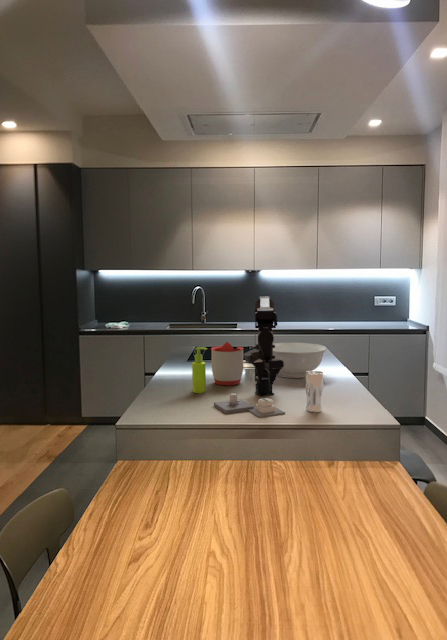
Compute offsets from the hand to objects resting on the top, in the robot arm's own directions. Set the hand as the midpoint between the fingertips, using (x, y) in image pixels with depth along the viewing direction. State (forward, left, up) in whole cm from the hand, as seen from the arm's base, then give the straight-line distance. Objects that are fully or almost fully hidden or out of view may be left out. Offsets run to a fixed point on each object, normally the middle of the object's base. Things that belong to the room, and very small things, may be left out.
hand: (265, 382), depth 194 cm
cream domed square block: (0, 0, -11) cm, 11 cm away
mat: (0, 0, -12) cm, 12 cm away
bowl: (-43, -51, -12) cm, 68 cm away
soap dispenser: (+12, -40, -12) cm, 44 cm away
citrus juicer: (-6, -50, -12) cm, 52 cm away
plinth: (+9, -10, -12) cm, 18 cm away
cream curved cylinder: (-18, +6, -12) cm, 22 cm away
